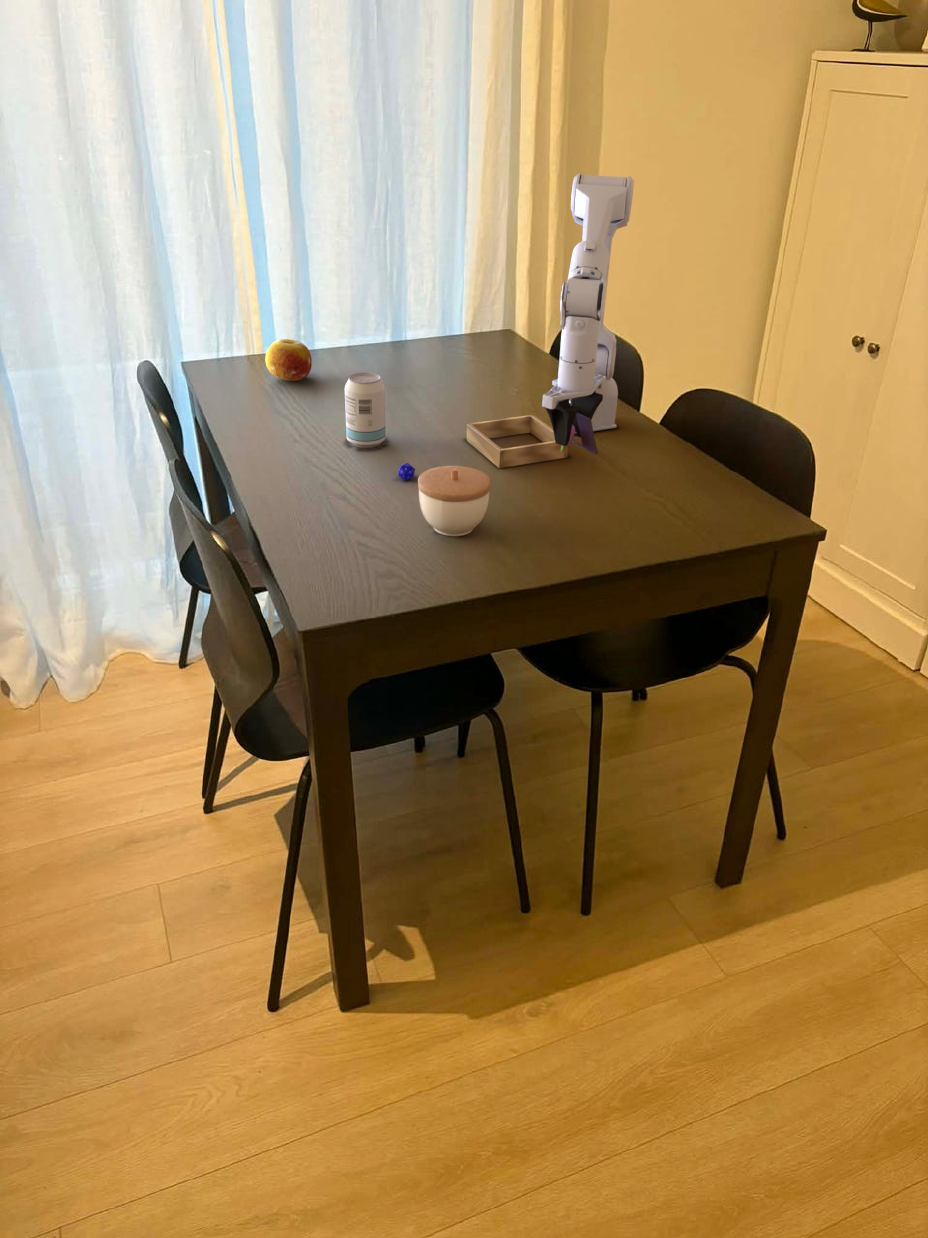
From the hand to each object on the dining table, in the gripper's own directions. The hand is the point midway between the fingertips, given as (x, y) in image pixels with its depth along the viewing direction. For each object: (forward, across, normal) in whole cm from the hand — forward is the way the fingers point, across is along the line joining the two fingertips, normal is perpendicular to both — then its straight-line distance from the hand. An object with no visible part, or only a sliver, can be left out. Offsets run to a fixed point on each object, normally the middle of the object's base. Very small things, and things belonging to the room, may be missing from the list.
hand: (570, 439), depth 160 cm
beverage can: (+7, +13, -35) cm, 38 cm away
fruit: (+7, 0, -71) cm, 71 cm away
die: (+7, +19, -19) cm, 28 cm away
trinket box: (+7, +26, -2) cm, 28 cm away
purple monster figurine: (+2, 0, 0) cm, 2 cm away
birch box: (+7, -4, -14) cm, 16 cm away
